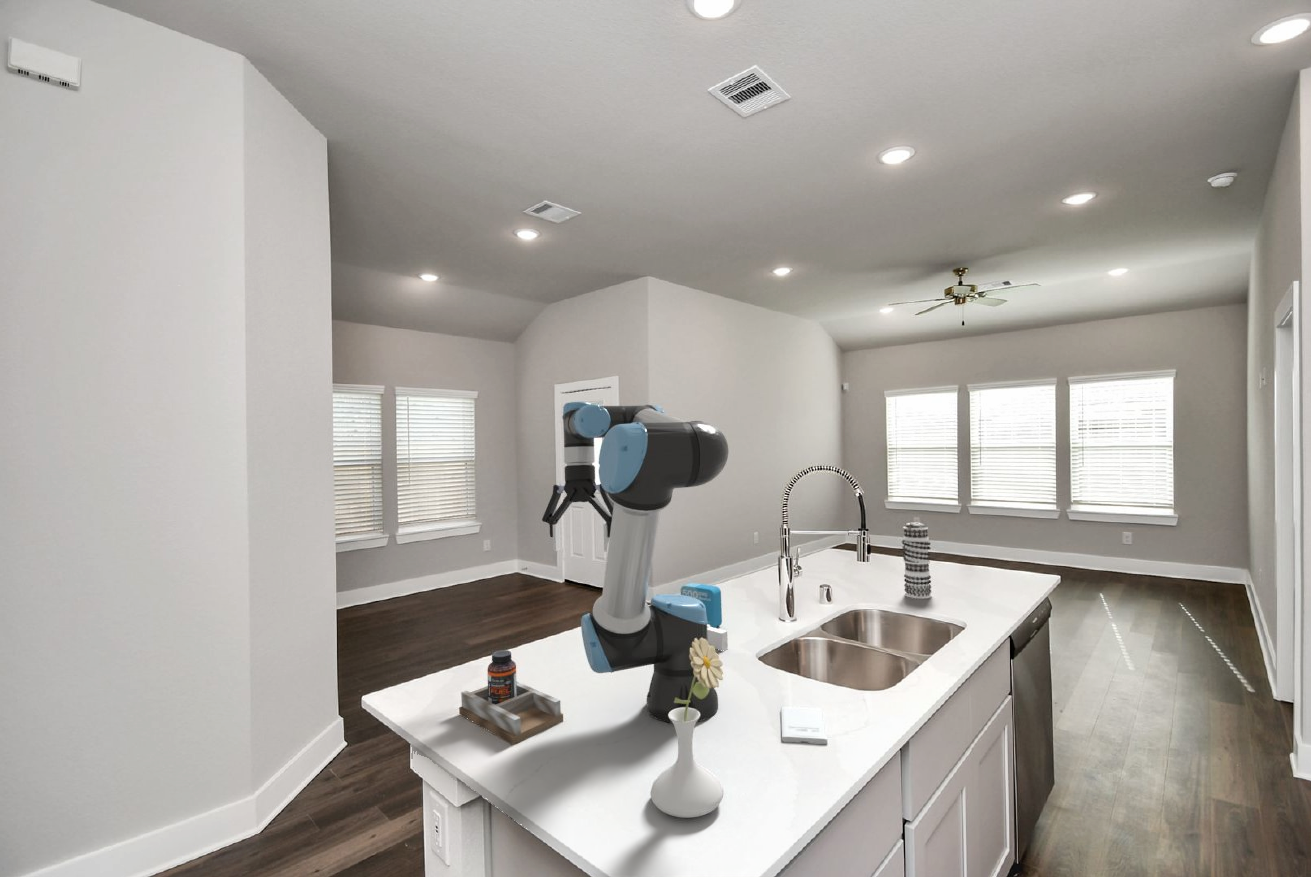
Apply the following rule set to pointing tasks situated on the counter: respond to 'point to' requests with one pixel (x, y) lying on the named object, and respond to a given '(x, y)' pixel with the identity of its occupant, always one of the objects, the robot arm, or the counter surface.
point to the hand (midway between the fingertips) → (582, 550)
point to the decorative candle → (916, 561)
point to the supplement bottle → (501, 677)
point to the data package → (706, 600)
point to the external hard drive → (803, 725)
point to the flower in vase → (690, 747)
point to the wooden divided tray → (512, 713)
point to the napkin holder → (717, 638)
